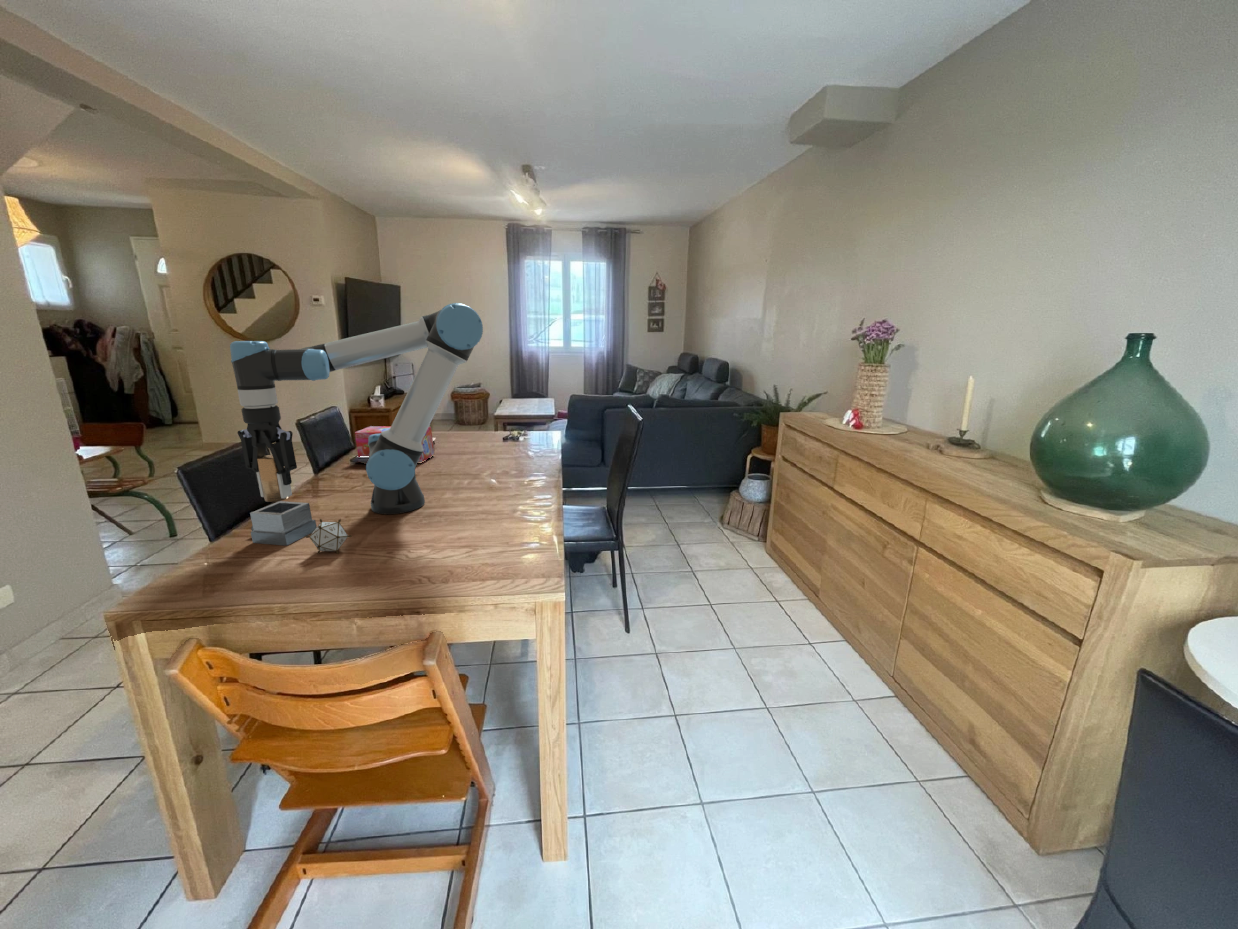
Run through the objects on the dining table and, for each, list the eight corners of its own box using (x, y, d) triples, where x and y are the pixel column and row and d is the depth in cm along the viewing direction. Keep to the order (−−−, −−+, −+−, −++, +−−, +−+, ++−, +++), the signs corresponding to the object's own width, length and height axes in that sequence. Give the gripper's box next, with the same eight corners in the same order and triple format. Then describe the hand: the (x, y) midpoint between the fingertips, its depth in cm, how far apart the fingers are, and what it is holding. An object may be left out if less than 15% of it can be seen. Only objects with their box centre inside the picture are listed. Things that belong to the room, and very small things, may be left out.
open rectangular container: (317, 530, 132) (312, 502, 130) (287, 545, 122) (281, 516, 120) (274, 527, 134) (268, 499, 132) (241, 541, 125) (234, 512, 122)
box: (357, 463, 198) (352, 431, 195) (374, 456, 211) (370, 425, 207) (422, 464, 197) (418, 432, 193) (435, 456, 209) (432, 425, 206)
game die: (332, 568, 118) (311, 549, 110) (313, 549, 122) (291, 529, 114) (364, 542, 123) (345, 522, 115) (344, 524, 126) (325, 504, 118)
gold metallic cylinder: (294, 495, 127) (287, 455, 124) (277, 502, 122) (269, 460, 119) (276, 494, 128) (269, 454, 125) (259, 501, 123) (251, 459, 120)
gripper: (304, 404, 121) (319, 493, 127) (241, 402, 124) (258, 489, 130) (279, 409, 114) (296, 503, 120) (213, 406, 117) (232, 498, 123)
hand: (276, 495), depth 125 cm, fingers closed on gold metallic cylinder, 5 cm apart
